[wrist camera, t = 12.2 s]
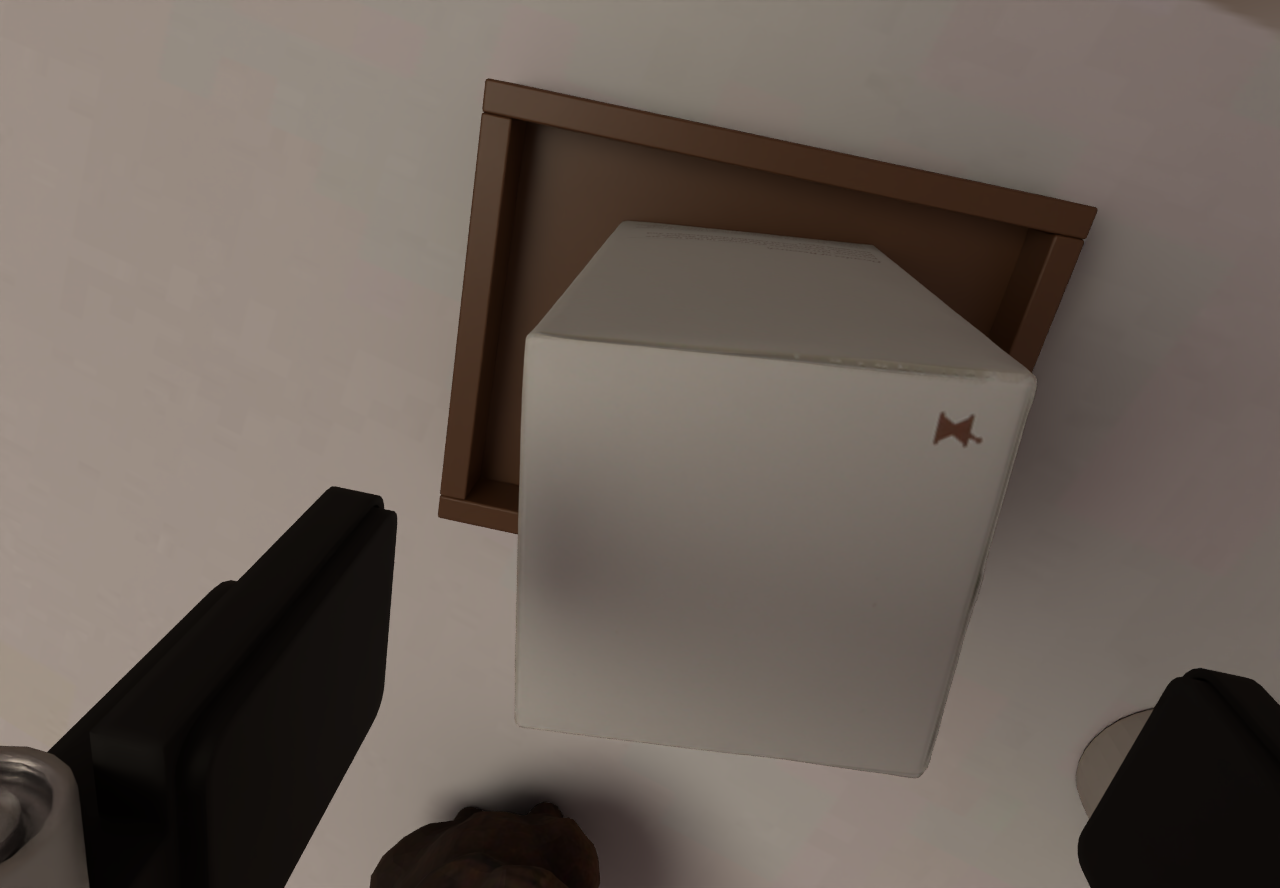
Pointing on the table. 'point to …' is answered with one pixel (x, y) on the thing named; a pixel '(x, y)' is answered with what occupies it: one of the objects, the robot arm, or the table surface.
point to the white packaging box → (755, 498)
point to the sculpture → (493, 853)
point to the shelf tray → (708, 198)
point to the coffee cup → (1106, 758)
